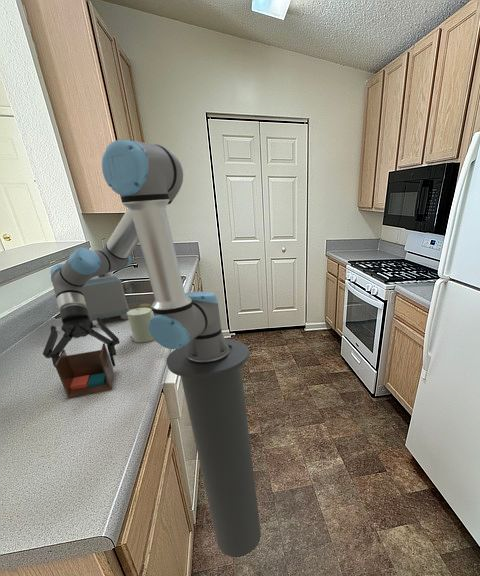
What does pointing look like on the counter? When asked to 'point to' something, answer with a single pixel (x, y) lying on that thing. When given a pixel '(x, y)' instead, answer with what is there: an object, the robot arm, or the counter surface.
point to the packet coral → (80, 382)
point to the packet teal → (96, 380)
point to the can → (140, 324)
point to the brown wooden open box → (84, 370)
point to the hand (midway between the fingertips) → (89, 370)
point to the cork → (145, 306)
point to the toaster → (105, 297)
